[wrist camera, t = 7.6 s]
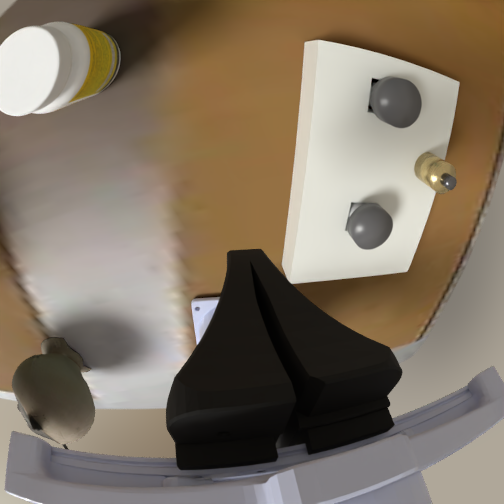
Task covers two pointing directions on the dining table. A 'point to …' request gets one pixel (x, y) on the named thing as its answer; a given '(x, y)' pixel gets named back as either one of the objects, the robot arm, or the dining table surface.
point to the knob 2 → (395, 101)
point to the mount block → (359, 163)
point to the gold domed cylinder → (435, 172)
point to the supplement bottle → (54, 67)
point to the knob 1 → (369, 225)
